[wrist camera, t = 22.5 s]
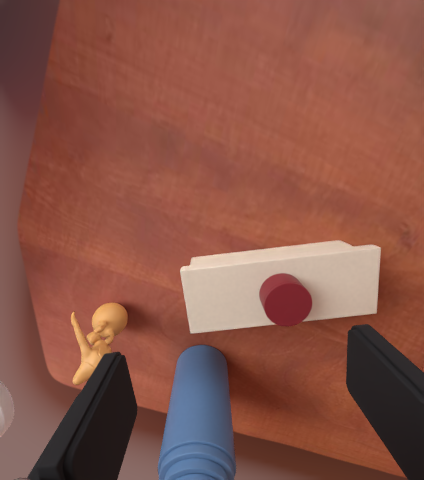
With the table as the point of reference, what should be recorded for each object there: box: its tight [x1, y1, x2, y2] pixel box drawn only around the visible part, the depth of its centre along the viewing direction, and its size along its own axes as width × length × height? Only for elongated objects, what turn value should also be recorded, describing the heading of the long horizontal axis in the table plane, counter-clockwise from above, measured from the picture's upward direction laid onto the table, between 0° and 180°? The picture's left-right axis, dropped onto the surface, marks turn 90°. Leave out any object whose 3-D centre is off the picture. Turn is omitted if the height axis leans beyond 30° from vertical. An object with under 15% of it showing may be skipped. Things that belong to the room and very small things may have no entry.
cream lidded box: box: [180, 240, 381, 334], centre depth 26 cm, size 19×7×6 cm, turn 97°
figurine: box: [71, 303, 128, 385], centre depth 24 cm, size 8×6×12 cm
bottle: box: [158, 345, 236, 480], centre depth 24 cm, size 7×7×18 cm
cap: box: [259, 273, 312, 326], centre depth 22 cm, size 4×4×2 cm
